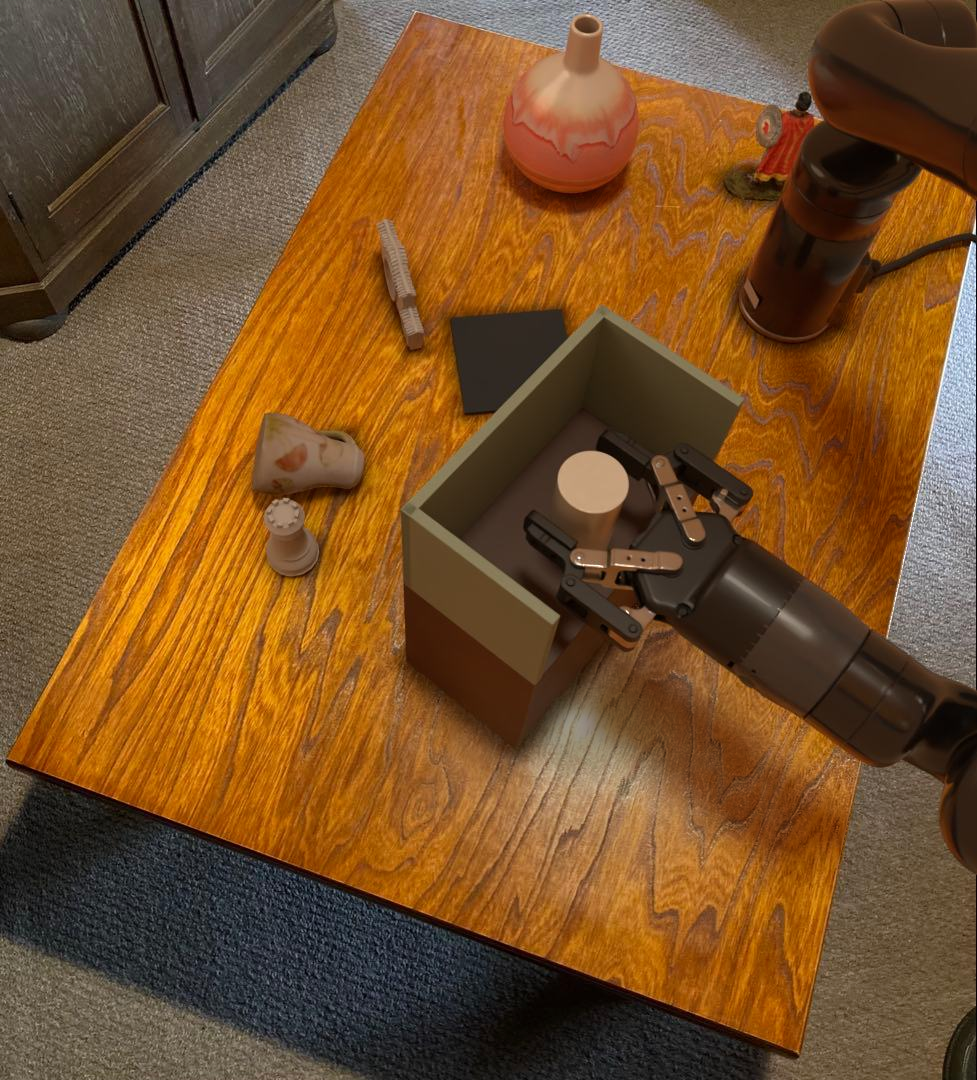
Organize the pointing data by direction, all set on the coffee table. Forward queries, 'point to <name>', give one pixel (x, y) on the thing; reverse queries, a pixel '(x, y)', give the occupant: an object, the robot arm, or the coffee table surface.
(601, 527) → the beige cylinder
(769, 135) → the figurine
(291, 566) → the rook chess piece
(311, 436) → the mug
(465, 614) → the bay
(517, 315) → the mat
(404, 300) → the garden wall model
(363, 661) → the coffee table surface
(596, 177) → the vase
